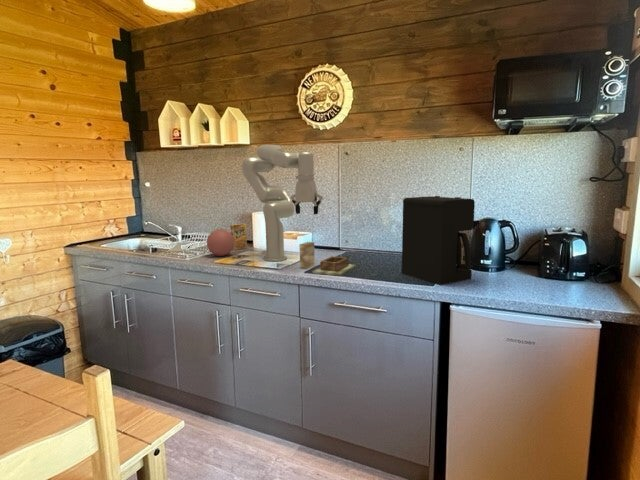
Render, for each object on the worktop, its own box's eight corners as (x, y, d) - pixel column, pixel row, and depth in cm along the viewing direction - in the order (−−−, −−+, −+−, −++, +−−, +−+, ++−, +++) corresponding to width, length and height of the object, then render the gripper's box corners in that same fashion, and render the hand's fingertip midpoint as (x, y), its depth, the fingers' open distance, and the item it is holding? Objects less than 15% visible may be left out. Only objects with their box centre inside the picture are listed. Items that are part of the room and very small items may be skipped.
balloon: (243, 252, 246) (242, 226, 243) (226, 259, 227) (224, 231, 225) (221, 251, 251) (220, 225, 248) (202, 257, 232) (200, 230, 229)
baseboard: (163, 254, 247) (183, 253, 249) (162, 249, 247) (183, 248, 248) (175, 245, 278) (194, 244, 279) (175, 240, 277) (193, 240, 278)
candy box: (234, 249, 254) (232, 225, 252) (231, 248, 258) (230, 224, 255) (247, 248, 259) (246, 223, 257) (244, 247, 263) (243, 223, 260)
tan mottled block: (299, 268, 203) (299, 244, 201) (307, 265, 210) (307, 241, 208) (307, 269, 202) (306, 244, 200) (314, 265, 209) (314, 242, 207)
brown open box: (312, 273, 194) (312, 262, 193) (330, 264, 211) (330, 254, 211) (339, 276, 188) (339, 265, 187) (356, 266, 205) (356, 256, 204)
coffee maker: (480, 280, 176) (484, 198, 171) (447, 287, 167) (450, 200, 161) (432, 268, 201) (434, 195, 195) (401, 273, 191) (402, 197, 185)
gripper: (286, 178, 199) (287, 214, 202) (318, 178, 192) (319, 215, 195) (294, 178, 206) (295, 212, 209) (325, 178, 199) (326, 213, 201)
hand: (306, 213), depth 202 cm, fingers open, 9 cm apart
